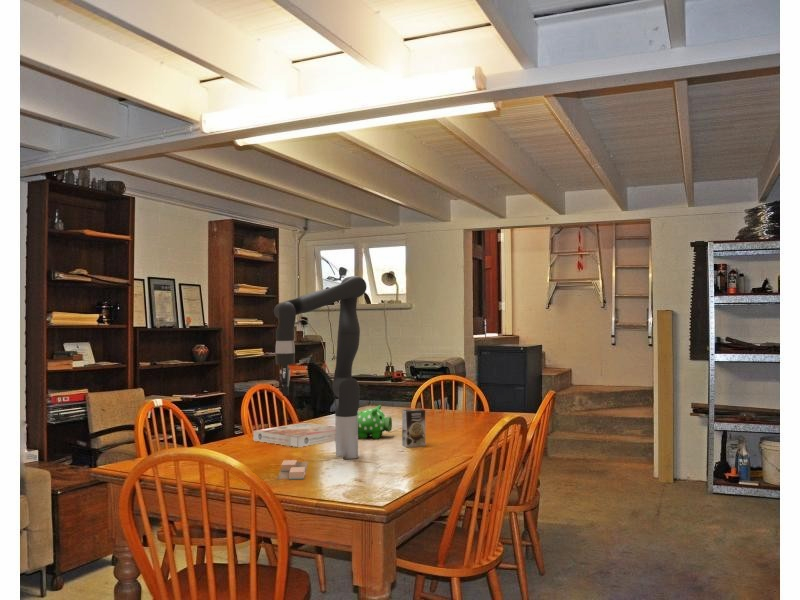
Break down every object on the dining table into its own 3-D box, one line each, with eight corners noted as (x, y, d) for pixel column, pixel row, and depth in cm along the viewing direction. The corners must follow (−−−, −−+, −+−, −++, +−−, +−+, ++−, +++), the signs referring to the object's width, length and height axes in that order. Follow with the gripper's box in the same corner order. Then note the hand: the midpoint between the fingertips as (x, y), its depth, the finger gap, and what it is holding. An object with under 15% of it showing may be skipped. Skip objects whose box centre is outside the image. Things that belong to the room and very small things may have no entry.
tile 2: (305, 467, 244) (303, 471, 236) (305, 473, 244) (303, 479, 236) (291, 467, 244) (289, 472, 236) (291, 474, 244) (289, 479, 236)
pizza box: (298, 437, 303) (253, 430, 323) (298, 449, 303) (253, 441, 323) (348, 427, 327) (303, 422, 348) (348, 439, 327) (303, 433, 348)
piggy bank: (387, 440, 319) (387, 408, 319) (350, 439, 322) (350, 408, 322) (392, 435, 333) (392, 404, 333) (357, 434, 336) (356, 404, 336)
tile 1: (296, 460, 257) (295, 464, 249) (296, 466, 257) (295, 471, 249) (283, 460, 257) (281, 464, 249) (283, 467, 256) (281, 471, 249)
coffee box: (407, 447, 299) (406, 411, 300) (401, 445, 305) (401, 409, 306) (426, 446, 302) (425, 409, 303) (420, 443, 308) (419, 408, 309)
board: (308, 465, 265) (308, 461, 265) (303, 481, 238) (303, 478, 238) (284, 465, 265) (284, 462, 265) (276, 482, 237) (276, 479, 237)
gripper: (293, 352, 263) (293, 397, 262) (295, 351, 276) (296, 393, 276) (273, 353, 262) (274, 397, 262) (277, 351, 276) (277, 394, 275)
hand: (285, 395), depth 269 cm, fingers closed
